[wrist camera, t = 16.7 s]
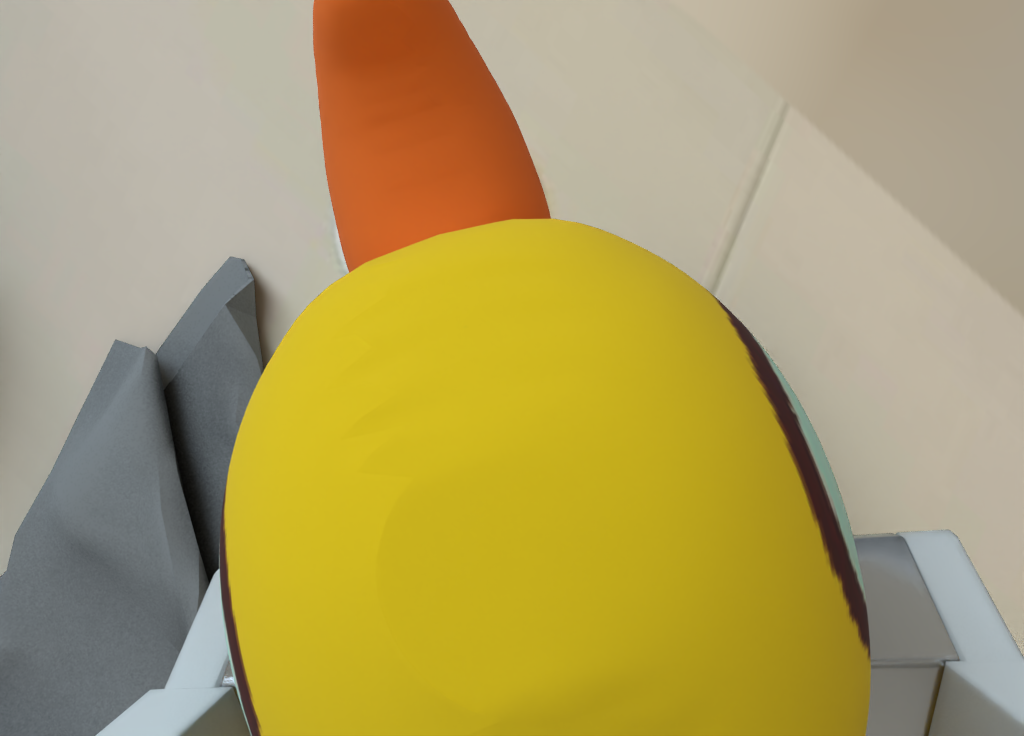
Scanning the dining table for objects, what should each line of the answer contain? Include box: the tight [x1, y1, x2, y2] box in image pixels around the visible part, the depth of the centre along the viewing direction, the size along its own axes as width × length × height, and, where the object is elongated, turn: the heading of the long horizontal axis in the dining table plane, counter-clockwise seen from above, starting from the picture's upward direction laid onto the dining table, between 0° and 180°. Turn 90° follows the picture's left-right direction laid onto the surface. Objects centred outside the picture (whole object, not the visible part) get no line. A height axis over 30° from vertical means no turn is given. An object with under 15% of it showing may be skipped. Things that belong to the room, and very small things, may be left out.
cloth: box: [0, 257, 264, 736], centre depth 30 cm, size 26×14×2 cm, turn 144°
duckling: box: [219, 0, 871, 736], centre depth 9 cm, size 11×5×10 cm, turn 16°
